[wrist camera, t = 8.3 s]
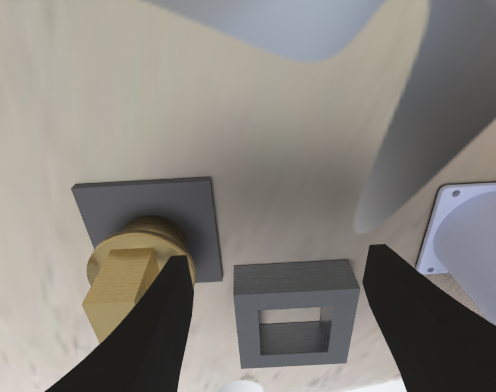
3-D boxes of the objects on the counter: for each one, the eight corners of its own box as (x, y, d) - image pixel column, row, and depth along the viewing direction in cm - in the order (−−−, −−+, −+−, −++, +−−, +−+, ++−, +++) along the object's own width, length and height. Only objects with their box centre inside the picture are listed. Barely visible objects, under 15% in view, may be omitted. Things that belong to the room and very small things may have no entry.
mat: (210, 176, 21) (209, 181, 20) (222, 275, 26) (222, 281, 25) (75, 184, 21) (71, 188, 21) (111, 281, 26) (109, 287, 25)
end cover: (193, 201, 21) (173, 287, 15) (205, 273, 25) (193, 369, 18) (95, 207, 21) (32, 295, 15) (120, 278, 25) (78, 375, 18)
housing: (347, 259, 25) (360, 288, 22) (337, 332, 30) (346, 363, 27) (234, 265, 25) (233, 295, 22) (241, 337, 30) (241, 368, 27)
